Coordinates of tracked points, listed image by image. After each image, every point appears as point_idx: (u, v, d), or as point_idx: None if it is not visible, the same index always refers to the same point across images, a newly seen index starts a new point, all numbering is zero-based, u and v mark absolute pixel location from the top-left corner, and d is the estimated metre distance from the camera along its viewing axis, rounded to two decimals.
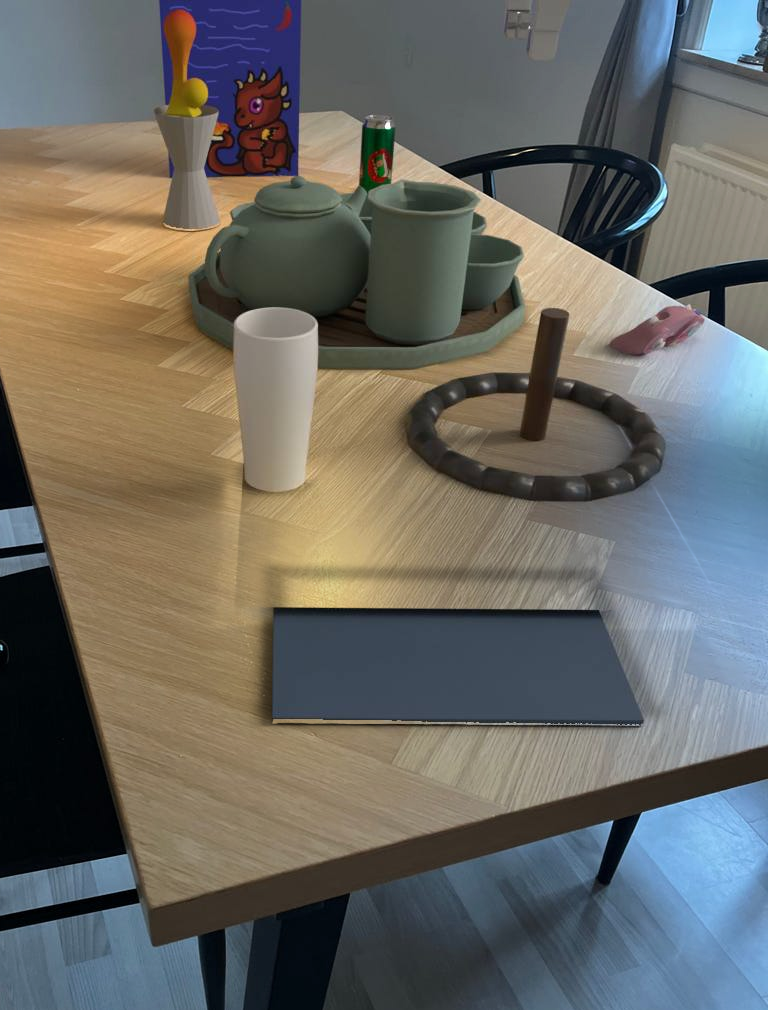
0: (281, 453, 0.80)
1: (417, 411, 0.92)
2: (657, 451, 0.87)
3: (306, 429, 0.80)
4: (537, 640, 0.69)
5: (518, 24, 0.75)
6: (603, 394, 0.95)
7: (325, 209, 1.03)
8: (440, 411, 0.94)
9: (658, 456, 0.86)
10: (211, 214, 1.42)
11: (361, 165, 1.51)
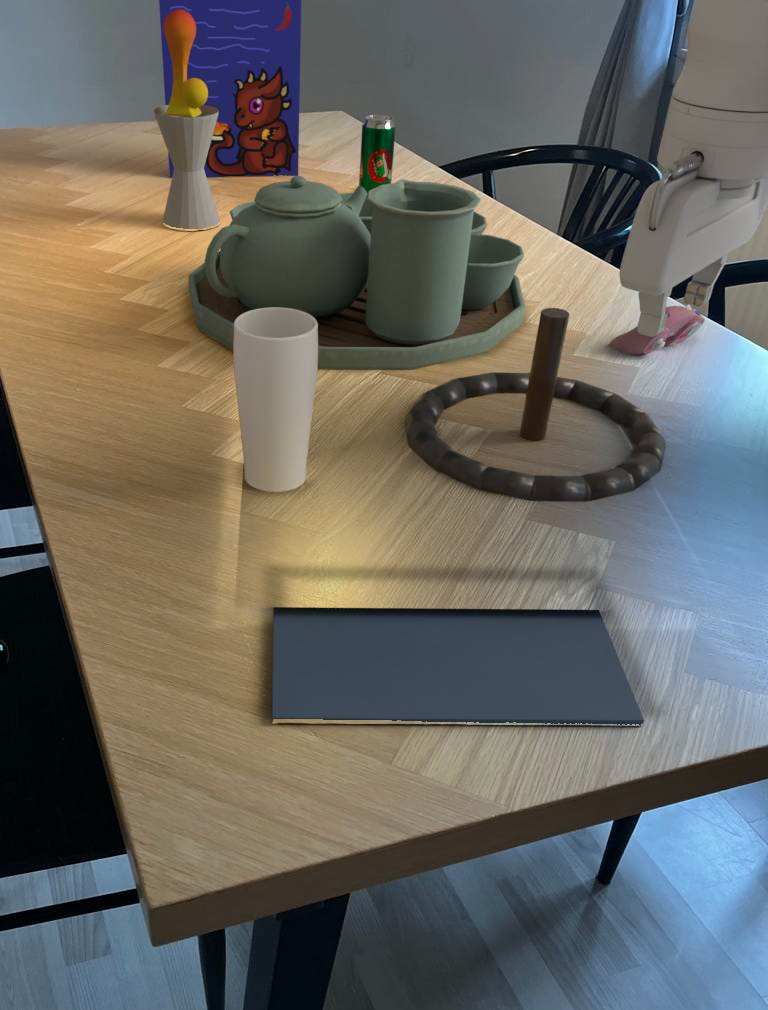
0: (281, 453, 0.80)
1: (417, 411, 0.92)
2: (657, 451, 0.87)
3: (306, 429, 0.80)
4: (537, 640, 0.69)
5: (695, 294, 0.86)
6: (603, 394, 0.95)
7: (325, 209, 1.03)
8: (440, 411, 0.94)
9: (658, 456, 0.86)
10: (211, 214, 1.42)
11: (361, 165, 1.51)
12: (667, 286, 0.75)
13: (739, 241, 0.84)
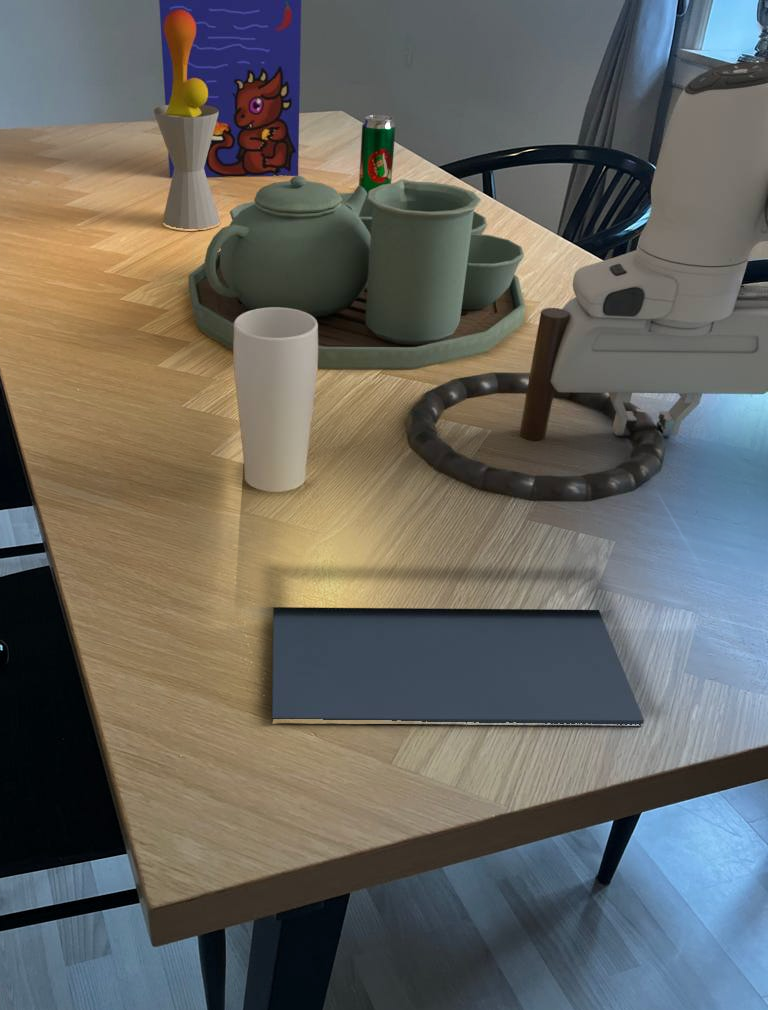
0: (281, 453, 0.80)
1: (417, 411, 0.92)
2: (658, 451, 0.87)
3: (306, 429, 0.80)
4: (537, 640, 0.69)
5: None
6: (603, 394, 0.95)
7: (325, 209, 1.03)
8: (440, 411, 0.94)
9: (659, 456, 0.86)
10: (211, 214, 1.42)
11: (361, 165, 1.51)
12: None
13: None
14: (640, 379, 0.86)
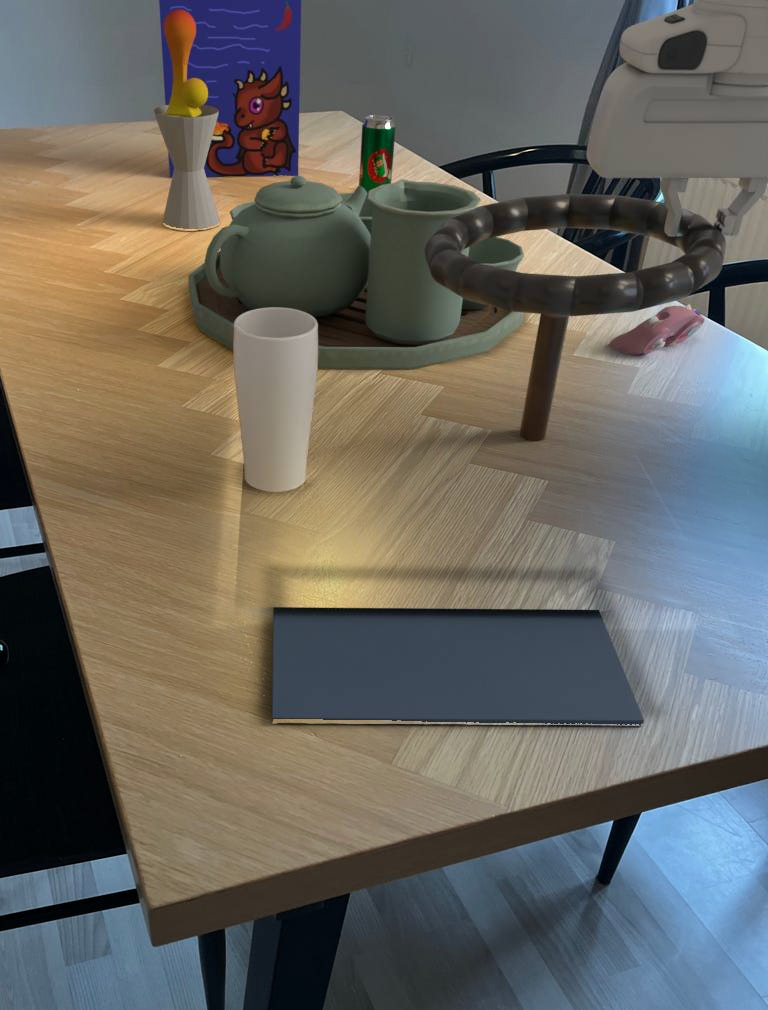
0: (281, 453, 0.80)
1: (438, 235, 0.82)
2: (718, 245, 0.75)
3: (306, 429, 0.80)
4: (537, 640, 0.69)
5: None
6: (649, 204, 0.84)
7: (325, 209, 1.03)
8: (464, 237, 0.84)
9: (719, 249, 0.75)
10: (211, 214, 1.42)
11: (361, 165, 1.51)
12: None
13: None
14: (698, 159, 0.75)
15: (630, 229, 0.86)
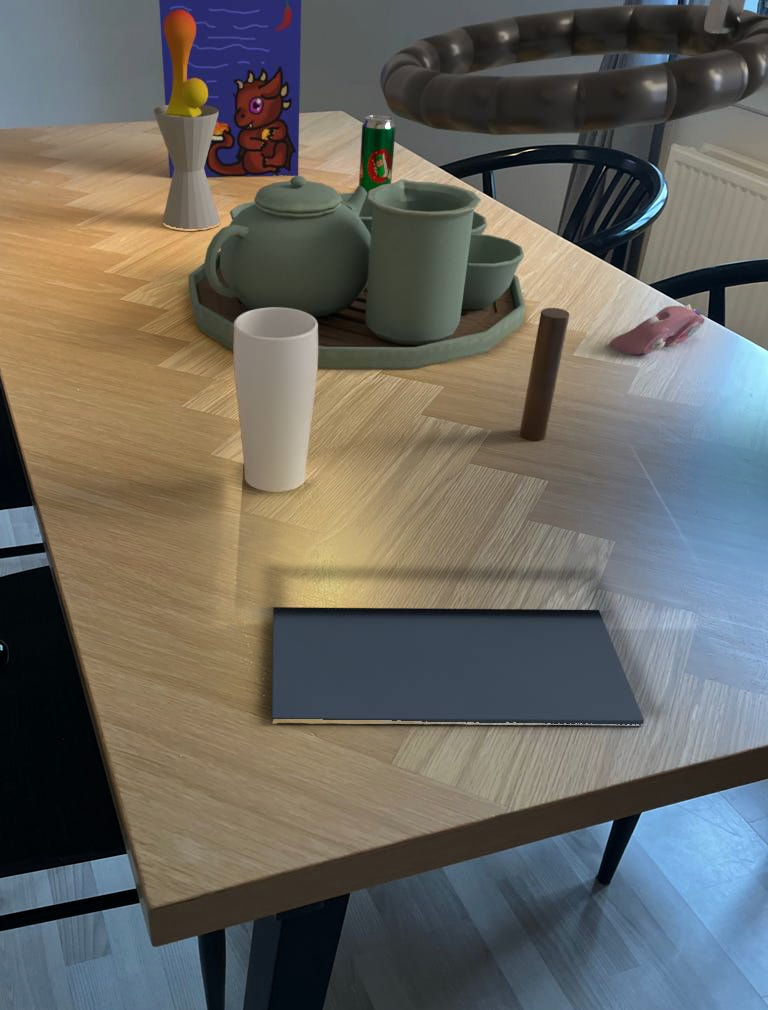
0: (281, 453, 0.80)
1: (397, 55, 0.61)
2: None
3: (306, 429, 0.80)
4: (537, 640, 0.69)
5: None
6: (680, 8, 0.63)
7: (325, 209, 1.03)
8: (434, 62, 0.63)
9: None
10: (211, 214, 1.42)
11: (361, 165, 1.51)
12: None
13: None
14: None
15: (655, 47, 0.65)
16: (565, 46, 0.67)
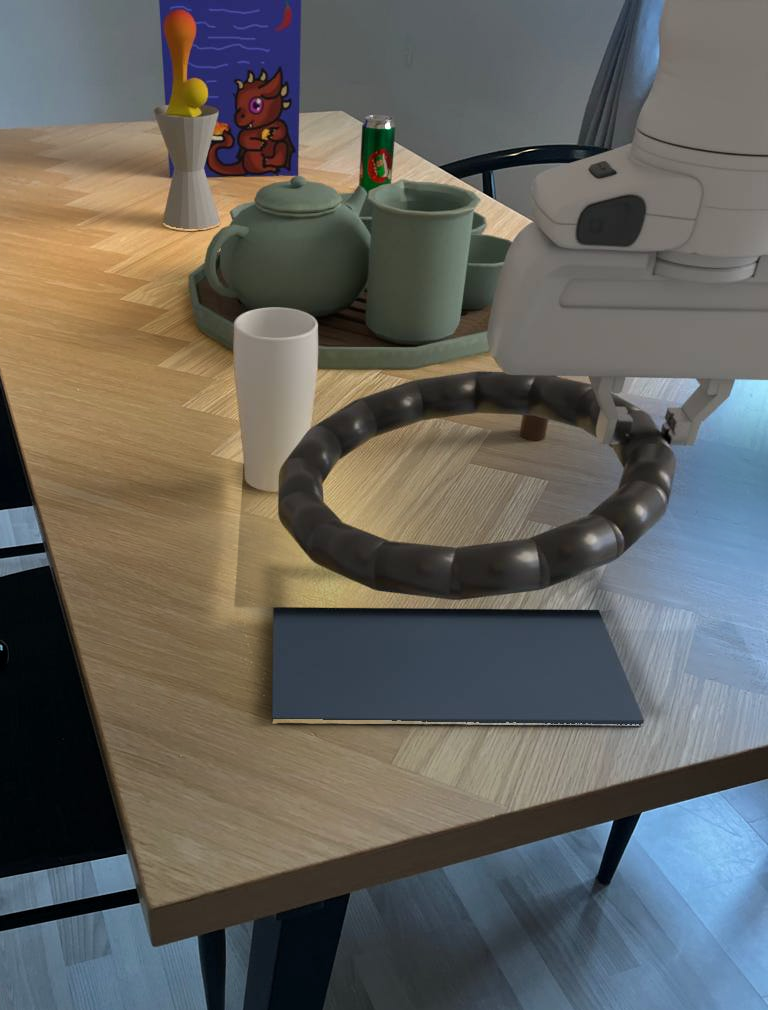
0: (281, 453, 0.80)
1: (292, 460, 0.62)
2: (660, 475, 0.54)
3: (306, 429, 0.80)
4: (537, 640, 0.69)
5: None
6: (577, 389, 0.63)
7: (325, 209, 1.03)
8: (333, 453, 0.64)
9: (662, 482, 0.54)
10: (211, 214, 1.42)
11: (361, 165, 1.51)
12: None
13: None
14: (638, 355, 0.53)
15: (556, 419, 0.65)
16: (469, 409, 0.67)
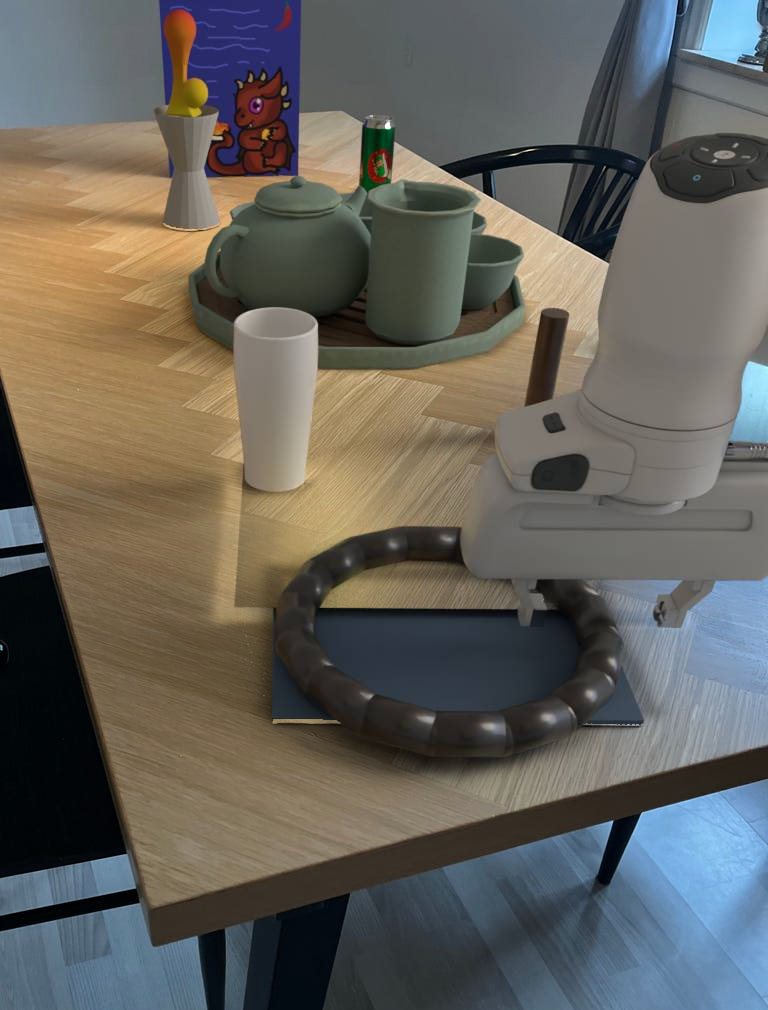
0: (281, 453, 0.80)
1: (291, 594, 0.68)
2: (611, 665, 0.63)
3: (306, 429, 0.80)
4: (537, 640, 0.69)
5: None
6: None
7: (325, 209, 1.03)
8: (326, 588, 0.71)
9: (612, 672, 0.63)
10: (211, 214, 1.42)
11: (361, 165, 1.51)
12: None
13: None
14: (589, 564, 0.62)
15: None
16: (447, 559, 0.75)
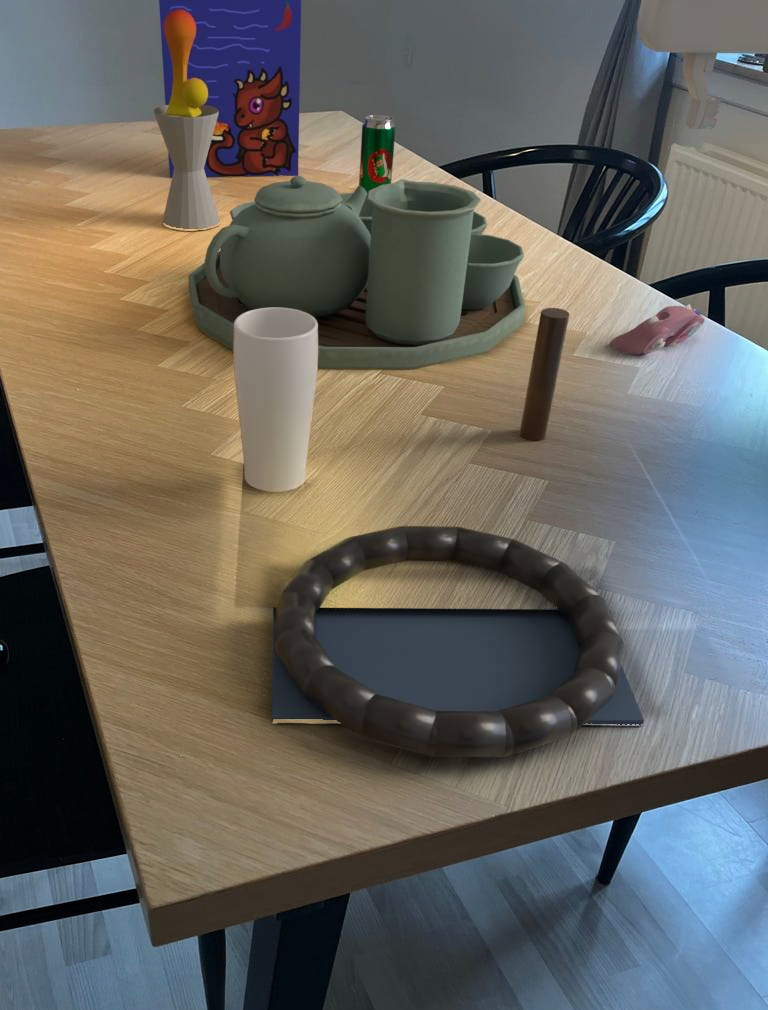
0: (281, 453, 0.80)
1: (291, 594, 0.68)
2: (611, 665, 0.63)
3: (306, 429, 0.80)
4: (537, 640, 0.69)
5: None
6: (545, 563, 0.72)
7: (325, 209, 1.03)
8: (326, 588, 0.71)
9: (612, 672, 0.63)
10: (211, 214, 1.42)
11: (361, 165, 1.51)
12: None
13: None
14: None
15: None
16: (447, 559, 0.75)
